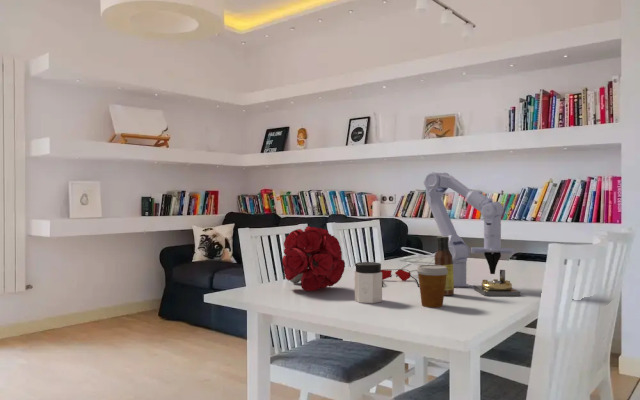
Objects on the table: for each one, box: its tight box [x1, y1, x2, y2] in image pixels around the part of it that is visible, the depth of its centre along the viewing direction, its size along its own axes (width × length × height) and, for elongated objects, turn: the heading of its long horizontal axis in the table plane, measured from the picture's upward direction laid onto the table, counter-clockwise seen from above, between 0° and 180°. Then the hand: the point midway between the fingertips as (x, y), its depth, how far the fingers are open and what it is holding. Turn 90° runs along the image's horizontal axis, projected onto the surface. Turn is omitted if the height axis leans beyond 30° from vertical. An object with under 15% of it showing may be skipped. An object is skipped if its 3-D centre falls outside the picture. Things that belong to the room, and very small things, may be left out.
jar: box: [354, 261, 383, 304], centre depth 165 cm, size 9×8×12 cm
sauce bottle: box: [433, 235, 455, 297], centre depth 176 cm, size 6×6×20 cm
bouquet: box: [281, 225, 346, 292], centre depth 188 cm, size 22×24×30 cm
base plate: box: [473, 285, 521, 297], centre depth 179 cm, size 12×12×2 cm
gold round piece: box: [481, 269, 513, 291], centre depth 179 cm, size 10×10×6 cm
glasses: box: [381, 268, 420, 288], centre depth 198 cm, size 14×16×5 cm
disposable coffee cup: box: [415, 264, 448, 308], centre depth 158 cm, size 10×10×12 cm
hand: (492, 273), depth 183 cm, fingers closed
